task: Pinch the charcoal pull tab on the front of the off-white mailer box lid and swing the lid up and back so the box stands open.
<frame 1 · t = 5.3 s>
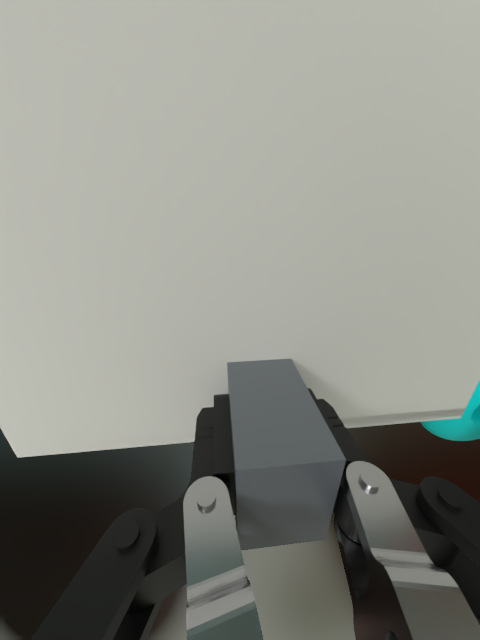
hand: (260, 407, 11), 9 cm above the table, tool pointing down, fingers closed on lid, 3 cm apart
lid: (267, 272, 8), point 9 cm above the table, hinge at 0.0°, touching gripper
donuts: (452, 385, 24), on the table
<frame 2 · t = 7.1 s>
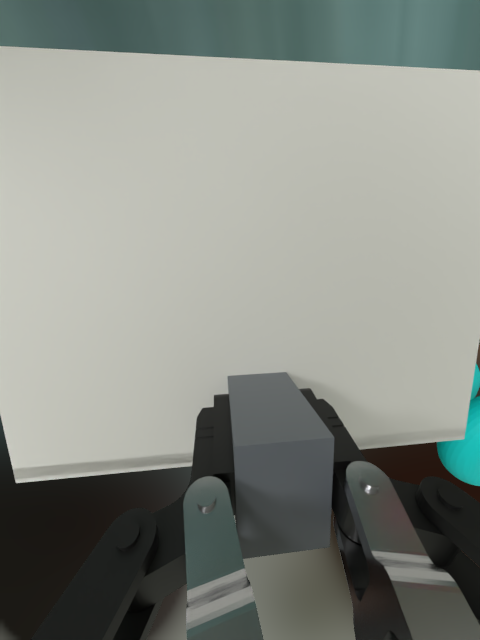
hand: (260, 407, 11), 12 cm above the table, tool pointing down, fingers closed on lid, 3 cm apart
lid: (259, 288, 10), point 11 cm above the table, hinge at 13.5°, touching gripper
donuts: (418, 377, 28), on the table
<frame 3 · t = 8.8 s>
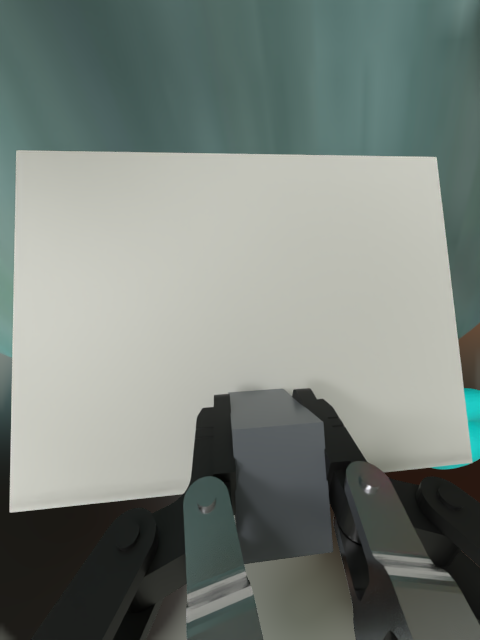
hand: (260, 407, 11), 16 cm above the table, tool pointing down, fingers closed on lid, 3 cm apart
lid: (253, 309, 12), point 13 cm above the table, hinge at 27.5°, touching gripper
donuts: (393, 378, 32), on the table
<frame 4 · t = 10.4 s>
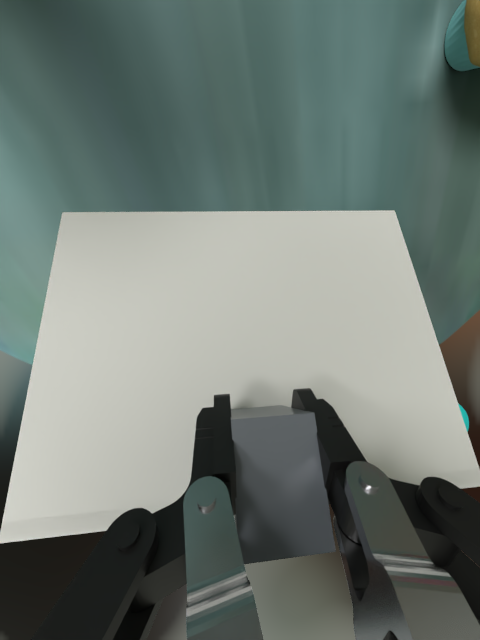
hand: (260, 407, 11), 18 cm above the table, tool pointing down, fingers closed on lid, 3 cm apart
lid: (250, 328, 13), point 14 cm above the table, hinge at 41.0°, touching gripper
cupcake: (466, 37, 20), on the table
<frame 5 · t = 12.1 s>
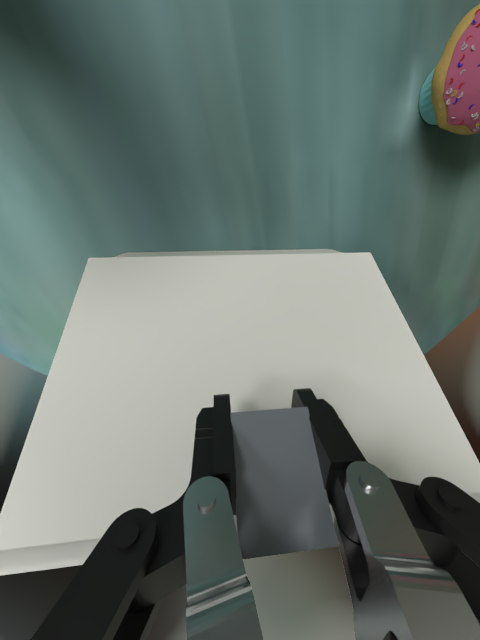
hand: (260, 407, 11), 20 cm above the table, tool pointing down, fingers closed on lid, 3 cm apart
mailer base: (232, 316, 31), on the table
lid: (249, 348, 14), point 16 cm above the table, hinge at 55.2°, touching gripper
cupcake: (438, 96, 23), on the table
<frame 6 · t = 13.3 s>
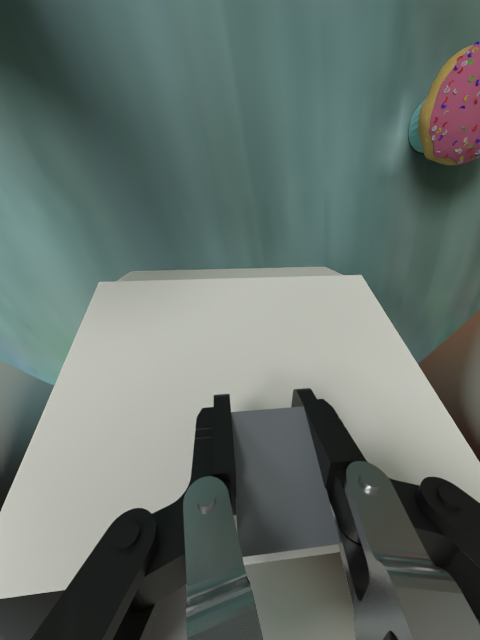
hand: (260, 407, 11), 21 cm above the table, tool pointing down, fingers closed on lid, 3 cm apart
mailer base: (232, 330, 32), on the table
lid: (248, 361, 15), point 16 cm above the table, hinge at 63.2°, touching gripper
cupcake: (426, 126, 24), on the table
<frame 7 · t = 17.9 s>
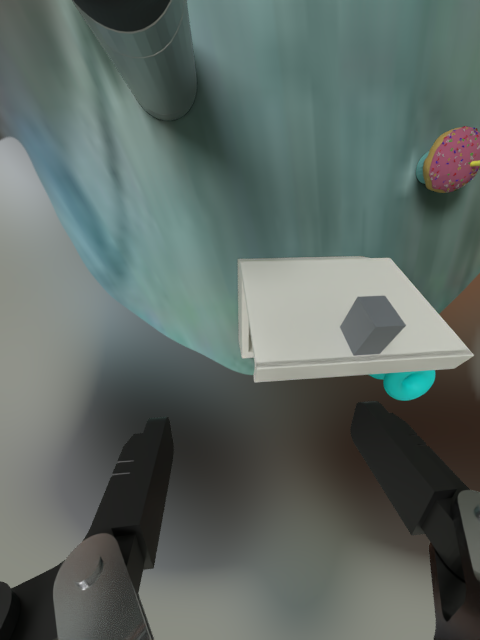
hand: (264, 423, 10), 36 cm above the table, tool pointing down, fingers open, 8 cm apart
mailer base: (296, 300, 47), on the table
lid: (341, 295, 30), point 16 cm above the table, hinge at 63.5°
donuts: (380, 356, 55), on the table
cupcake: (427, 168, 40), on the table
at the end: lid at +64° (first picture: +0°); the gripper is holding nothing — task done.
